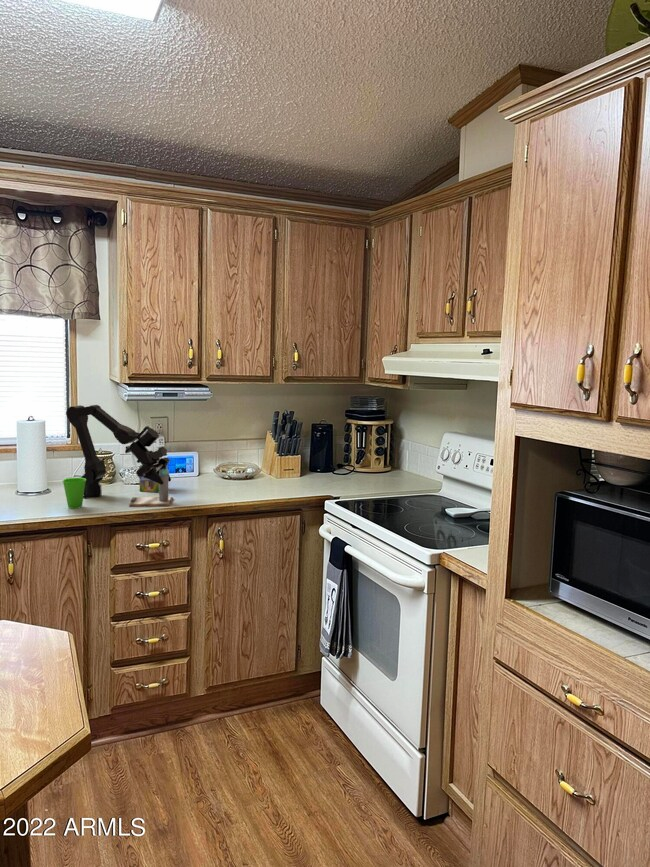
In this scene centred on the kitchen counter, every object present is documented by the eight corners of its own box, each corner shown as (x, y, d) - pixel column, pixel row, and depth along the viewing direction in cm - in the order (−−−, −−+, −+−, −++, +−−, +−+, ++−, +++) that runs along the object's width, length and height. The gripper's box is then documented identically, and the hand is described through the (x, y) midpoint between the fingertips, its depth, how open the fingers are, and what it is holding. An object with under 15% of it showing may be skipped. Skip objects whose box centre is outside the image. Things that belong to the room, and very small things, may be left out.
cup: (91, 507, 262) (90, 480, 261) (69, 510, 255) (69, 483, 254) (80, 503, 268) (79, 476, 266) (58, 506, 261) (57, 479, 260)
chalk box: (158, 492, 290) (157, 459, 288) (138, 491, 291) (138, 458, 289) (167, 488, 299) (166, 456, 297) (148, 487, 300) (148, 455, 298)
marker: (160, 502, 269) (160, 470, 267) (158, 499, 272) (158, 469, 270) (169, 501, 271) (169, 470, 269) (167, 499, 274) (167, 468, 272)
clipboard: (129, 506, 264) (129, 502, 264) (133, 499, 277) (133, 494, 277) (170, 506, 267) (169, 501, 266) (172, 498, 279) (172, 494, 279)
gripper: (142, 444, 260) (168, 474, 259) (165, 438, 278) (189, 465, 277) (125, 462, 263) (150, 491, 262) (149, 455, 281) (172, 482, 280)
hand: (166, 482), depth 270 cm, fingers open, 6 cm apart
